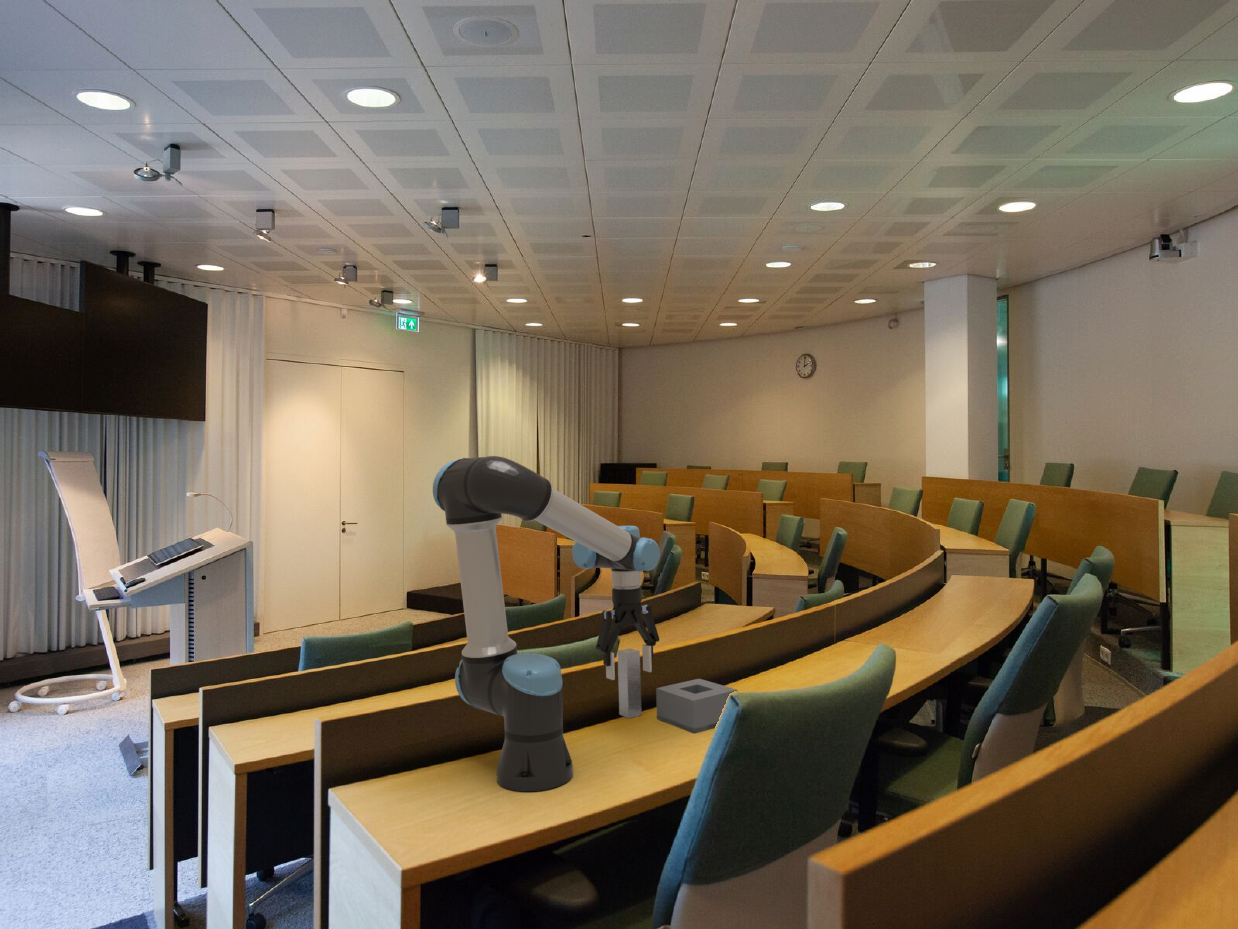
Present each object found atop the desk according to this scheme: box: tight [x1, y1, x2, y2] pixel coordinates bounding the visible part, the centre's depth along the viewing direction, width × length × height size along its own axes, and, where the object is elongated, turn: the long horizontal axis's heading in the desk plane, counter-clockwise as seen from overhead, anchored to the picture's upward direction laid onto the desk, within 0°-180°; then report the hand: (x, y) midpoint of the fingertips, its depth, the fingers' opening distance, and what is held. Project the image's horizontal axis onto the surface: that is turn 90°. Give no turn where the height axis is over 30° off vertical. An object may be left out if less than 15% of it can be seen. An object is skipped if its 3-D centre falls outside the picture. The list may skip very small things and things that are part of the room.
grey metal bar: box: [617, 648, 643, 719], centre depth 187 cm, size 4×4×16 cm
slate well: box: [655, 678, 738, 734], centre depth 181 cm, size 14×14×8 cm
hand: (629, 674), depth 187 cm, fingers open, 11 cm apart
